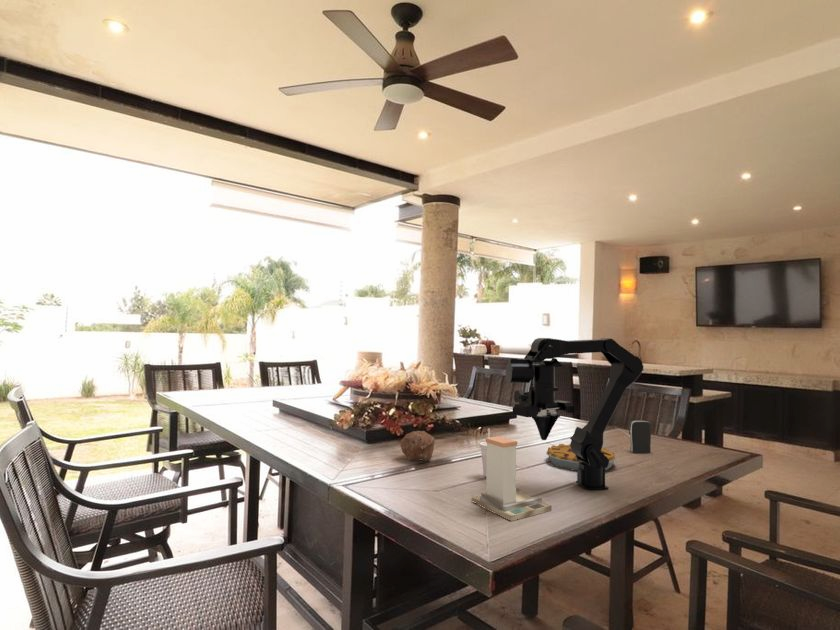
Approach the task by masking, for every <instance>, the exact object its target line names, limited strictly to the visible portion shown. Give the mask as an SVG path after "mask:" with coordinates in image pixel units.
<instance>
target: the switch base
mask: <svg viewBox="0 0 840 630" xmlns="http://www.w3.org/2000/svg"><path fill="white" fill-rule="evenodd" d="M472 501H474V502H476V503H477V504H479V505H481V506H483V507H485V508H486V509H485V508H484V509H485V510H487V509H489V510H491V511H493V512H495V513H497V514H498V515H497V514H496V515H497V516H499V515H500V516H499V517H501V516H502V517H501V518H503V517H504V519H505V518H506V520H507V519H508V521H509V520H510V521H509V522H514V521H518V520H522V519H524V518H528V517H531V516H535V515H539V514H543V513H547V512H551V511H552V504H549V503H546V502H544V501H543V500H542V497H540V496H537V497H532V496H529V495H527V494H524V493H522V492H520V489H519V488H517V487H516V503H512V504H507V505H503V506H502V501H500V500H498V499H496V498H493V497H491V496H489V495H487V494H486V493H484V492H481V493H480V495H476V496H472V497H471V502H472ZM477 504H476V505H477ZM479 505H478V506H479ZM481 506H480V507H481ZM483 507H482V508H483ZM489 510H488V511H489ZM491 511H490V512H491ZM493 512H492V513H493ZM495 513H494V514H495ZM517 519H518V520H517Z"/></svg>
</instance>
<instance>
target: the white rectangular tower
mask: <svg viewBox="0 0 840 630" xmlns="http://www.w3.org/2000/svg"><path fill="white" fill-rule="evenodd" d="M485 442H486V443H487V478H486V485H485V486H486V493H485V494H487V495H489V496H491V497H493V498H496V499H498V500H500V501H502V506H503V505H507V504H512V503H516V488H517V446H518V441H517V440H513V439H510V438H506V437H502V436H501V435H498V436H490V438H488V437H485Z"/></svg>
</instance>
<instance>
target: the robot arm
mask: <svg viewBox="0 0 840 630" xmlns="http://www.w3.org/2000/svg"><path fill="white" fill-rule="evenodd" d="M590 353H591V354H592V353H601V354H602V355H603V357H604V358H605V360H606V362H608V363H609V364H610V368H609V378H608V379H609V381H608V382H607V385H606V387H605V389H604V390H603V392H602V394H601V397H600V398H599V400H598V402H597V404H596V406H595V407H594V410H593V412H592V414H591V415H590V418H589V419H588V422H587V423H586V425H584V426H583V427H579V426H576V427H575V430H574V432H573V435H572V436H571V437H570V438H569V439H570V440H571V441H570V443H569V445H570V447H571V450H572V452H573V453H574V454H575V455H576V458H577V460H579V461H581V462H579V468H577V470H576V476H577V477H576V479H577V480H576V481H575V483H576V484H577V485H579V486H580V487H582V488H583V489H585V490H588V491H589V490H591V491H592V490H609V486H607V485H606V471H605V468H607V467H608V464H609V459H608V458H607V457H606V456H605V455H604V454H603V453H602V452H601V450H602V449H603V446H604V433H605V430H606V429H607V427H608V425H609V423H610V420H611V419H612V417H613V415H614V413H615V411H616V409H617V407H618V405H619V403H620V402H621V399H622V397H623V395H624V393H625V392H626V389H627V388H628V387H630V386H631V385H632V384H633V383H634V382H636V381H637V379H638V378H639V377H640V376H641V374H642V372H643V370H644V364H643V361H642V360H641V358H639V357H638V356H636V355H633V354H632V353H631V352H630V351H629V350H627V349H626V348H624V347H623V346H621V345H620V344H619V343H618V342H617V341H615V339H613V338H609V337H607V338H606V337H602V338H599V339H596V338H595V339H578V340H576V339H575V340H574V339H573V340H565V339H564V340H563V339H559V338H553V337H552V338H550V337H537V338H534V340H533V341H532V343H531V345H530V350H528V352H527V353H526V354H525V356H524V357H523V358H514V357H510V358H508V362H507V365H506V368H505V379H506V382H507V383H508V384H529V383H530V382H531V381H533V385H531V386H530V387H529V388H528V389H529V391H527V392H524V391H523V390H516V391H514V394H513V399H514V402H515V404H514V405H513V406H512V415H513V416H514V415H515V416H519V417H525V418H532V419H533V421H534V423H535V425H536V428H537V430H538V434H539V436H540V439H541V440H542V441H546V440H547V439H548V437H549V436H550V433H551V431H552V429H553V428H554V425H555V423H556V422H557V420H558V419H559V418H560V417H561V414H558V413H557V411H564V412H565V413H567V414H571V413H575V405H574V403H573V402H572V401H566V400H560V399H559V400H555V398H556V397H555V396H556V395H555V394H556V393H555V392H558V391H559V387H557V386H555V381H556V379H555V377H556V376H555V374H556V371H555V370H556V368H562V367H563V364H562V363H561V362H560V361H559V360H558V358H559V357H563V356H566V355H569V354H570V355H571V354H590ZM536 363H537V364H536Z"/></svg>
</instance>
